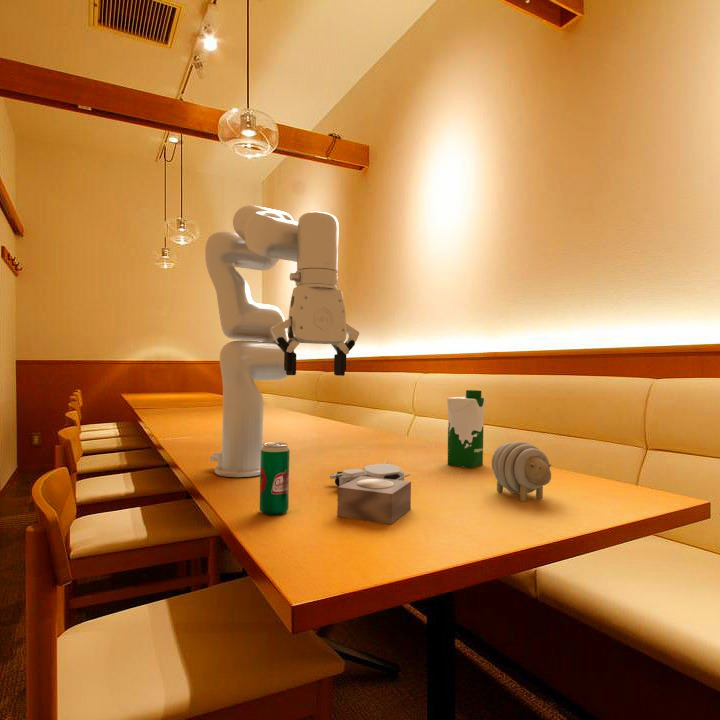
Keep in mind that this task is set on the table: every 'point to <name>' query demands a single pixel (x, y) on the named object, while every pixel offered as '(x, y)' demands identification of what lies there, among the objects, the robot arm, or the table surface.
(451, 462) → the milk carton
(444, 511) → the table surface
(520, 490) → the toy sheep
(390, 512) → the base brick
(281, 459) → the soda can
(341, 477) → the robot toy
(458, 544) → the table surface
